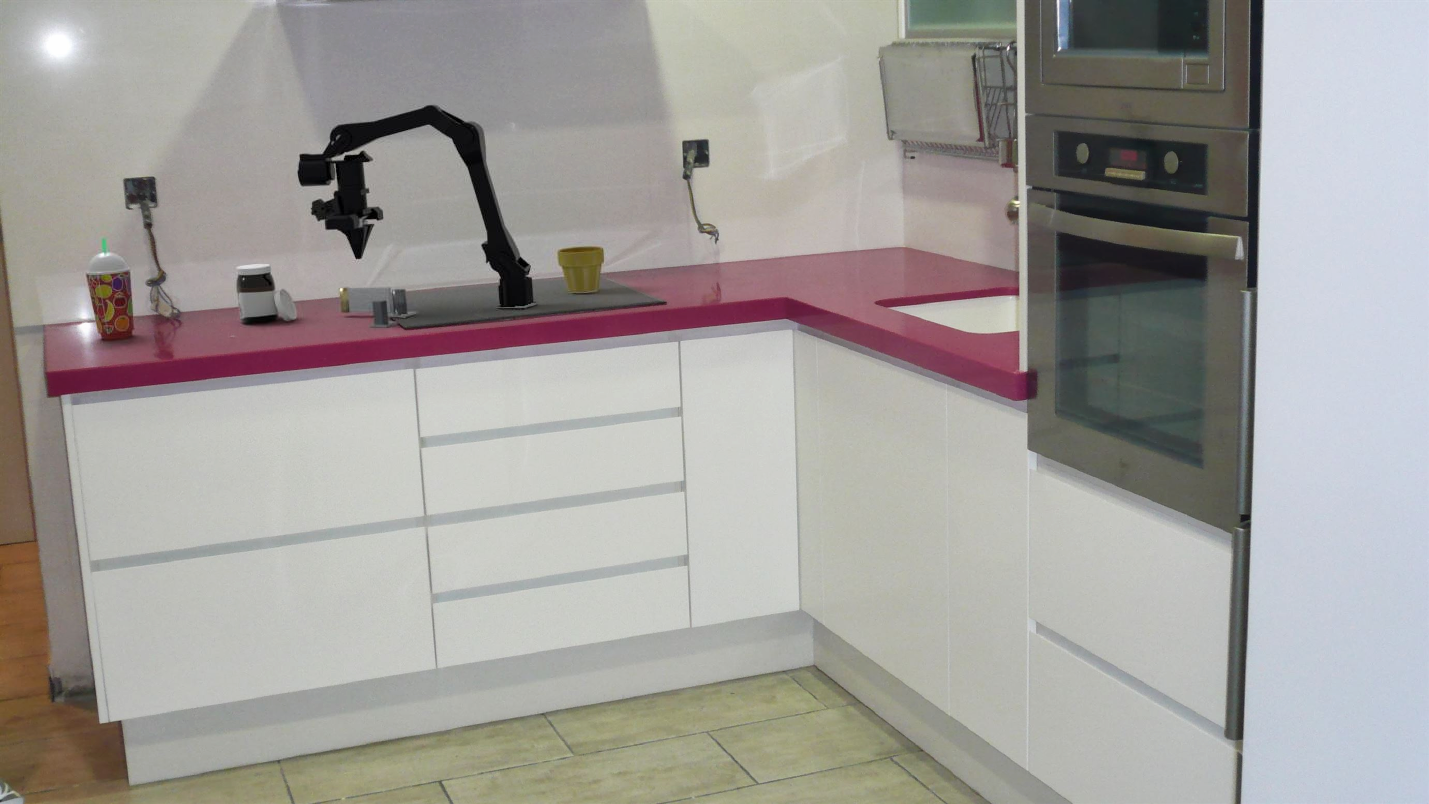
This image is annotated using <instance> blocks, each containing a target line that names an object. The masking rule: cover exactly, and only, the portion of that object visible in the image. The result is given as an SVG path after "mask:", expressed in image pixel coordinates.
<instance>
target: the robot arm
mask: <svg viewBox="0 0 1429 804" xmlns="http://www.w3.org/2000/svg"><path fill="white" fill-rule="evenodd" d="M424 126H425V127H426V126H431V127H432V128H434V129H435V130H437V131H438V132H439V133H441V134H442V135H444V136H446V137H447V138H449V139H451V141H452V143H453V145H454V148H455V149H456V151H457V153H458V155H459V157H460V158H461V160H462V161H463V163H464V165H465V166H466V168H467V171H468V174H469V177H470V181H471V183H472V188H473V190H474V194H475V199H476V202H477V204H478V208H479V211H480V215H481V219H482V220H483V224H484V229H485V231H486V240H485V241H483V243H481V244H480V246H481V248H482V251H483V253H484V255H485V264H488V263H489V266H490V268H491V269H492V270H493V271H494V272H496V273H498V275H499V277H500V278H499V281H498V282H499V285H498V286H497V289H498V290H497V291H498V300H499V301H498V304H499V305H497V307H515V306H525V305H528V304H531V303H534V302H535V301H534V300H535V299H534V289H533V288H534V287H533V277H532V276H531V277H530V276H529V275H530V272H531V269H532V265H531V264H530V263H529V262H528V261H526V260H525V259H524V258H523V257H522V256H521V253H520V250H519V248H518V246H517V244H516V242H515V240H514V238H513V237H512V235H511V233H510V232H509V230H508V229H507V226H506V225H505V221H504V218H503V215H502V212H501V208H500V205H499V201H498V198H497V194H496V192H495V187H494V183H493V181H492V177H491V174H490V171H489V168H488V164H487V163H488V162H487V146H486V138H485V131H484V129H483V127H482V125H480V124H479V123H477V122H475V121H472V120H471V121H469V120H468V121H465V120H464V119H462V118H459V117H458V116H456V115H454V114H452V113H449V112H448V111H446V110H444V109H442V108H441V107H440V106H438V105H436V104H429V105H428V104H427V105H425V106H423V107H421V108H417V109H414V110H411V111H407V112H403V113H399V114H396V115H393V116H392V115H391V116H388V117H384V118H381V119H377V120H373V121H360V122H348V123H343V124H342V123H341V124H337V125H336V126H334V127H333V128H332V129H331V131H330V134H329V142H328V144H327V145H326V148H325V149H324V151H323V153H300V154H299V161H298V168H297V171H296V172H297V178H298V179H297V180H298V183H299V184H300V186H301V187H325V186H327V187H328V186H331V183H332V181H335V180H336V184H337V190H334V192H333V193H332V195H333V198H331V199H329V200H326V201H324V200H323V199H322V198H318V199H315V200H313V201H311V207H310V210H311V211H310V214H311V215H312V216H314V217H315V218H316V221H317V222H318V223H319V222H321V221H324V228H325V230H326V231H330V230H331V231H332V230H333V231H334V230H336V231H339V232H341V233H342V234H343V235H344V236H345V238H346V239H347V241H348V244H349V247H350V249H351V251H352V253H353V256H354V258H355V260H361V259H362V258H363V257H364V254H365V253H364V252H365V250H366V248H367V243H368V242H369V239H370V235H371V233H372V230H373V228H374V227H375V224H374V223H369V222H368V220H369V221H370V220H371V221H372V220H375V221H382V220H384V210H382V208H381V207H380V206H368V197H367V195H368V194H370V188H369V187H366V176H365V169H364V163H369V162H370V163H371V162H373V160H374V158H373V157H371V156H370V155H369V154H368V153H367V152H366V151H365V150H361V151H359V153H357V154H345V153H350V152H354V151H356V150H358V149H360V148H363V147H365V146H367V145H370V144H371V143H373V142H375V141H377V140H379V139H381V138H384V137H385V138H386V137H388V136H393V135H396V134H400V133H402V132H403V133H404V132H407V131H410V130H413V129H417V128H422V127H424ZM344 154H345V155H344ZM343 155H344V157H343V159H336V160H335V159H334V160H333V158H337V157H340V156H343Z"/></svg>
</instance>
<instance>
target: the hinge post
mask: <svg viewBox="0 0 1429 804" xmlns="http://www.w3.org/2000/svg"><path fill="white" fill-rule="evenodd" d="M406 292H407V291H406V288H396V289H391V298H392V308H393V312H394V314H396V315H397V314H398V315H401V314H413V313H417V312H418V311H408V303H407V301H408V300H407V293H406ZM393 312H389V313H388V319H392V318H391V316H393V314H392V313H393Z"/></svg>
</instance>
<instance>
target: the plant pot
mask: <svg viewBox="0 0 1429 804" xmlns="http://www.w3.org/2000/svg"><path fill="white" fill-rule="evenodd" d="M604 251H605V250H604V247H601V246H596V245H594V246H592V245H589V246H588V245H586V246H585V245H584V246H575V247H574V246H573V247H566V248H561V249H558V250H557V262H558V265H559V267H561V270H562V272H563V276H564V280H565V283H566V288H567V291H568V293H569V292H588V291H595V290H598V291H599V288H600V281H601V272H602V271H601V270H602V264H604V262H605V252H604Z"/></svg>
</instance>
